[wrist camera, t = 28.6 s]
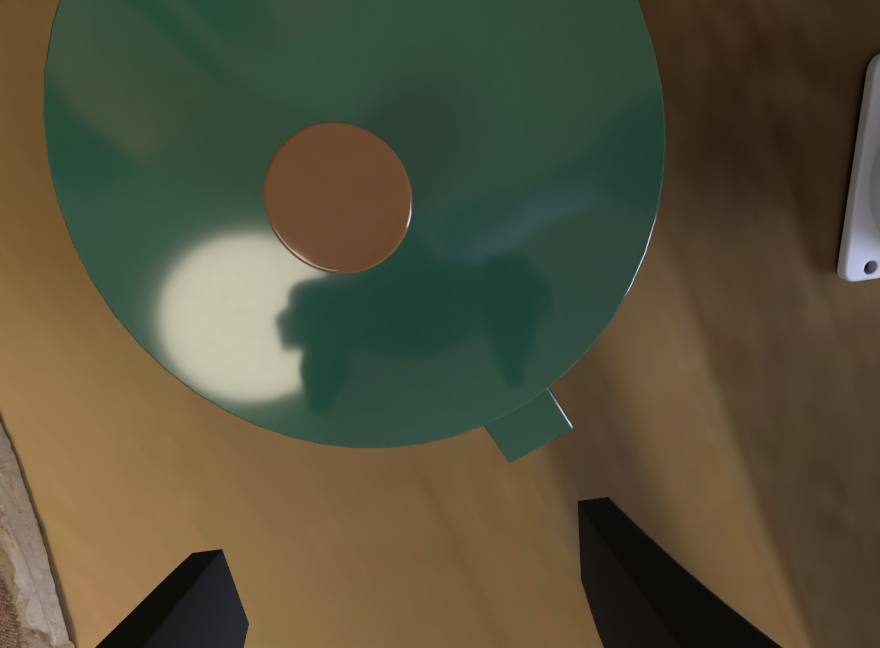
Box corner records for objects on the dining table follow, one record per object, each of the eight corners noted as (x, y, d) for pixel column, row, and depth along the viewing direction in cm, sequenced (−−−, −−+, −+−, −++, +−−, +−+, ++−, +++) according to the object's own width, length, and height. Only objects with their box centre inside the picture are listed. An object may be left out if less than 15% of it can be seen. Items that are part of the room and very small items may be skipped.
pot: (392, -249, 13) (374, -512, 8) (661, 296, 19) (752, 347, 14) (43, 42, 15) (-152, -18, 10) (380, 459, 21) (367, 557, 16)
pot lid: (460, -353, 9) (505, -913, 4) (727, 267, 14) (898, 325, 9) (-59, 89, 11) (-413, 35, 6) (316, 503, 16) (269, 657, 11)
